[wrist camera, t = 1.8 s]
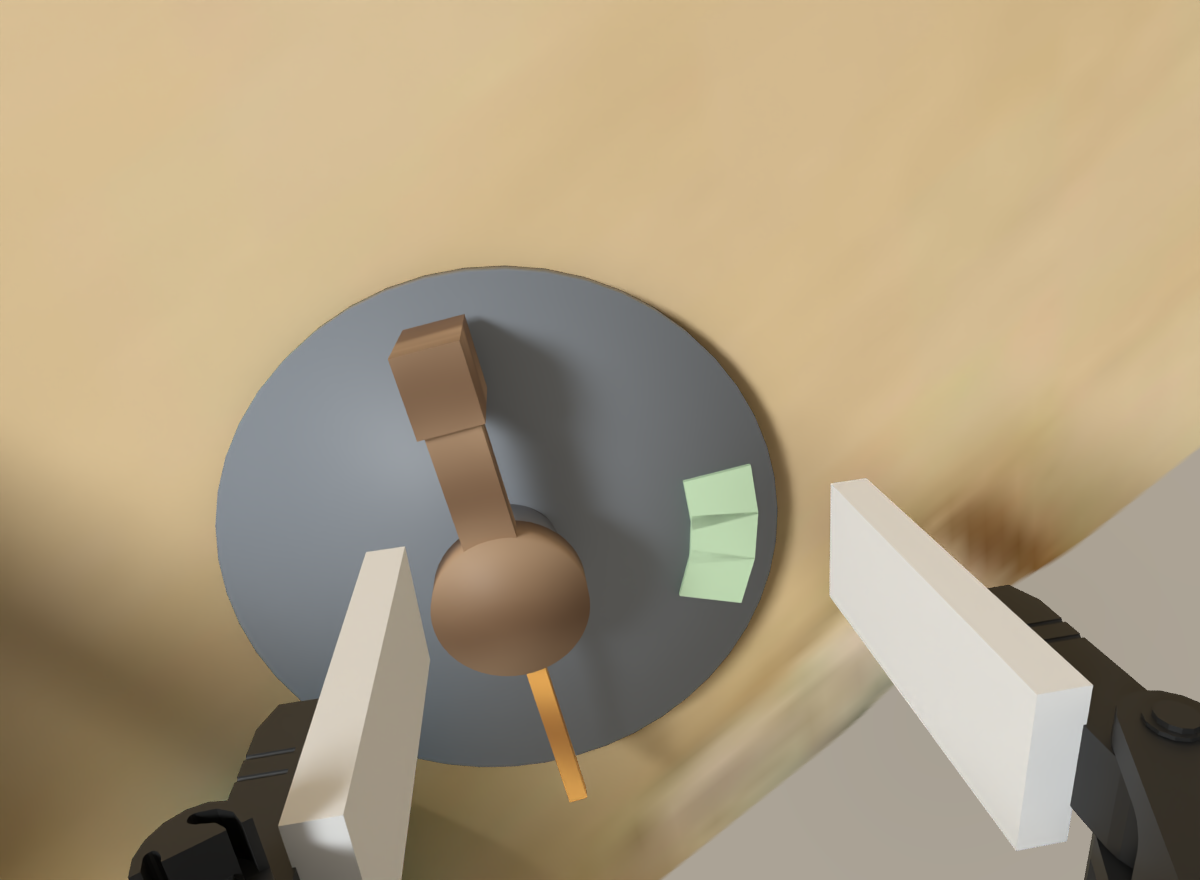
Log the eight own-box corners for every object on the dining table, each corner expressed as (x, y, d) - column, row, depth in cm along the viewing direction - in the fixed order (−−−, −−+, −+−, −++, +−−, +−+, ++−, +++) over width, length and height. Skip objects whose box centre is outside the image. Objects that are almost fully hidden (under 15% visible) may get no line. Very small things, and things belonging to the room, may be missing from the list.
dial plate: (137, 637, 34) (93, 697, 30) (382, 142, 28) (365, 142, 25) (596, 808, 41) (606, 874, 37) (870, 439, 35) (914, 474, 31)
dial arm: (355, 342, 29) (333, 373, 25) (510, 301, 29) (512, 326, 25) (511, 765, 37) (513, 839, 33) (632, 732, 37) (648, 801, 33)
